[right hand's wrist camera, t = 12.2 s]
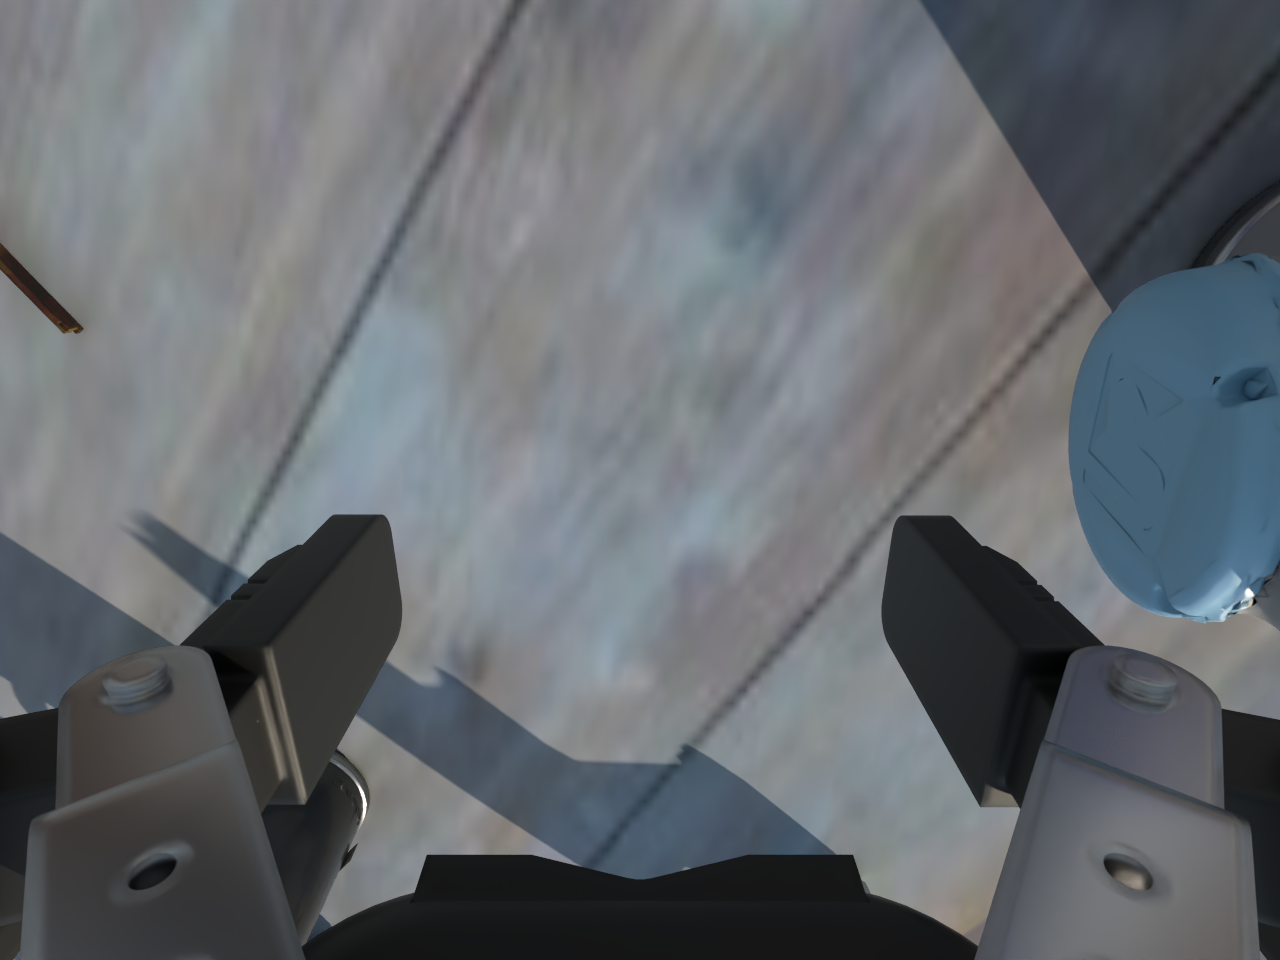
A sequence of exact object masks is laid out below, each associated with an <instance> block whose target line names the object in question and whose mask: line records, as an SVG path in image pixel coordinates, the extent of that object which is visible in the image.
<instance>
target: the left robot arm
mask: <svg viewBox="0 0 1280 960" xmlns="http://www.w3.org/2000/svg"><path fill="white" fill-rule="evenodd" d="M1069 465H1070V475H1071V479H1072V484H1073V495H1074V499H1075V504H1076V508H1077V512H1078V516H1079V519H1080V522H1081V525H1082V528H1083V531H1084V534H1085V536H1086V539H1087V541H1088V543H1089V546H1090V548H1091V550H1092V552H1093V554H1094V556H1095V558H1096V559H1097V561H1098V563H1099V564H1100V566H1101V568H1102V569H1103V571H1104V572H1105V573H1106V575H1107V576H1108V577H1109V579H1110V580H1111V581H1112V583H1113V584H1114V585H1115V586H1116V587H1117V588H1118V589H1119V590H1120V591H1121V592H1122V593H1123V594H1124V595H1125V596H1126V597H1127V598H1129V599H1130V600H1131V601H1133V602H1134V603H1136V604H1137V605H1139V606H1140V607H1142V608H1144V609H1146V610H1148V611H1150V612H1153V613H1155V614H1158V615H1162V616H1166V617H1185V618H1189V619H1191V620H1193V621H1198V622H1202V623H1205V624H1206V622H1207V621H1215V622H1223V621H1224V620H1225V619H1227V618H1229V617H1231V616H1233V615H1235V614H1240V613H1242V614H1248V615H1251V616H1255V617H1258V618H1260V619H1263V620H1265V621H1267V622H1268V623H1270V624H1271V625H1273V626H1274V627H1276V628H1277V629H1278V630H1279V631H1280V182H1278V183H1277V184H1275V185H1273V186H1272V187H1270V188H1269V189H1267V190H1266V191H1264V192H1263V193H1261V194H1259V195H1258V196H1257V197H1256V198H1254V199H1253V200H1252V201H1250V202H1249V203H1248V204H1246V205H1245V206H1244V207H1243V208H1242V209H1241V210H1240V211H1239V212H1237V213H1236V214H1235V215H1234V216H1233V217H1232V218H1231V219H1230V220H1229V221H1228V222H1227V223H1226V224H1225V225H1224V226H1223V227H1222V228H1221V229H1220V231H1219V232H1218V233H1217V234H1216V235H1215V236H1214V238H1213V239H1212V240H1211V241H1210V243H1209V244H1208V245H1207V247H1206V248H1205V249H1204V251H1203V252H1202V254H1201V255H1200V257H1199V258H1198V260H1197V261H1196V263H1195V265H1194V266H1193V268H1192V269H1188V270H1182V271H1177V272H1173V273H1169V274H1166V275H1162V276H1159V277H1157V278H1155V279H1153V280H1151V281H1148V282H1147V283H1145V284H1143V285H1141V286H1140V287H1138V288H1136V289H1135V290H1134V291H1132V292H1131V293H1130V294H1129V295H1127V296H1126V297H1125V298H1124V299H1123V300H1122V301H1121V302H1120V303H1119V305H1118V307H1117V309H1116V310H1115V311H1114V312H1112V313H1111V314H1110V315H1109V316H1108V317H1107V318H1106V319H1105V320H1104V321H1103V322H1102V324H1101V325H1100V327H1099V328H1098V330H1097V332H1096V333H1095V335H1094V337H1093V338H1092V340H1091V342H1090V345H1089V347H1088V349H1087V351H1086V353H1085V356H1084V358H1083V361H1082V363H1081V366H1080V370H1079V373H1078V376H1077V380H1076V384H1075V388H1074V393H1073V398H1072V405H1071V412H1070V422H1069Z"/></svg>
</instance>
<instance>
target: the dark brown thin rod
mask: <svg viewBox="0 0 1280 960" xmlns="http://www.w3.org/2000/svg"><path fill="white" fill-rule="evenodd" d="M0 270H1V271H2V272H3V273H4V274H5V275H6V276H7V277H8V278H9V279H10V280H11V281H12V282H13V283H14V284H15V285H16V286H17V287H18V288H19V289H20V290H21V291H22V292H23V293H24V294H25V295H26V296H27V297H28V298H29V299H30V300H31V301H32V302H33V303H34V304H35V305H36V306H37V307H38V308H39V309H40V310H41V311H42V312H43V313H44V314H45V315H46V316H47V317H48V318H49V319H50V320H51V321H52V322H53V323H54V324H55V325H56V326H57V327H58V328H59V329H60V330H61V331H62V333H69V332H71V331H74V332H75V333H76V334H78V333H80V332H81V331H82V330H83V328H82V326H81V325H80V324H78V323H77V321H76V320H75V319H74V318H73V317H72V316H71V315H70V314H69V313H68V312H67V311H66V310H65V309H64V308H63V307H62V306H61V305H60V304H59V303H58V302H57V301H56V300H55V299H54V298H53V297H52V296H51V295H50V294H49V293H48V292H47V291H46V290H45V289H44V288H43V287H42V286H41V285H40V284H39V283H38V282H37V281H36V280H35V279H34V278H33V277H32V276H31V275H30V274H29V273H28V272H27V270H26V269H25V268H24V267H23V266H22V265H21V264H20V263H19V262H18V261H17V260H16V259H15V258H14V257H13V256H12V255H11V254H10V253H9V252H8V251H7V250H6V249H5V248H4V246H3V245H2V244H0Z"/></svg>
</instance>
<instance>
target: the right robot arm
mask: <svg viewBox="0 0 1280 960" xmlns="http://www.w3.org/2000/svg"><path fill="white" fill-rule="evenodd" d="M401 621H402V601H401V593H400V587H399V580H398V573H397V566H396V559H395V553H394V546H393V539H392V532H391V527H390V524H389V522H388V520H387V518H386V517H385V516H384V515H332V516H331V517H330V518H329V519H328V520H327V521H326V522H325V523H324V524H323V525H322V526H321V527H320V528H319V529H318V530H317V531H316V532H315V533H314V534H313V535H312V536H311V537H310V538H309V539H308V540H307V541H306V542H305V543H304V544H303V545H297V546H295V547H293V548H291V549H289V550H287V551H285V552H283V553H282V554H280V555H278V556H276V557H274V558H272V559H270V560H268V561H267V562H266V563H265V564H264V565H263V566H262V567H261V568H260V569H259V570H258V571H257V572H255V573H254V574H253V575H252V576H251V577H250V578H249V579H248V584H243V585H242V586H241V587H240V588H239V589H238V590H237V591H236V592H235V593H234V594H233V595H231V600H226V601H225V602H224V603H223V604H222V605H221V606H220V607H219V608H218V609H217V610H216V611H215V612H214V613H213V614H212V615H211V616H210V617H209V618H207V619H206V620H205V621H204V622H203V623H202V624H201V625H200V626H199V627H198V628H197V629H196V630H195V631H194V632H193V633H192V634H191V635H190V636H189V637H188V638H187V639H186V640H184V641H183V642H182V643H181V644H180V645H179V646H164V647H157V648H152V649H147V650H143V651H139V652H135V653H132V654H129V655H126V656H123V657H121V658H118V659H116V660H114V661H111V662H109V663H107V664H105V665H103V666H101V667H99V668H97V669H95V670H94V671H92V672H90V673H89V674H87V675H86V676H84V677H83V678H81V679H80V680H79V681H77V682H76V683H75V684H74V685H73V686H72V687H71V688H70V689H69V690H68V691H67V692H66V693H65V695H64V696H63V698H62V700H61V701H60V704H59V708H55V709H50V710H44V711H39V712H34V713H29V714H23V715H18V716H13V717H8V718H3V719H0V960H13V959H14V957H15V956H16V955H17V954H18V952H19V951H20V960H1260V951H1261V952H1262V954H1263V955H1264V956H1265V957H1266V959H1267V960H1280V720H1277V719H1272V718H1267V717H1262V716H1256V715H1251V714H1246V713H1241V712H1236V711H1230V710H1225V709H1221V704H1220V701H1219V700H1218V698H1217V696H1216V695H1215V693H1214V692H1213V691H1212V690H1211V689H1210V688H1209V687H1208V686H1207V685H1206V684H1205V683H1204V682H1203V681H1201V680H1200V679H1199V678H1197V677H1196V676H1194V675H1193V674H1191V673H1190V672H1188V671H1186V670H1185V669H1183V668H1181V667H1179V666H1177V665H1175V664H1173V663H1171V662H1169V661H1166V660H1164V659H1162V658H1159V657H1157V656H1154V655H1151V654H1148V653H1145V652H1141V651H1137V650H1133V649H1128V648H1123V647H1116V646H1105V645H1104V644H1103V643H1102V642H1101V641H1100V640H1099V639H1098V638H1096V637H1095V636H1094V635H1093V634H1092V633H1091V632H1090V631H1089V630H1088V629H1087V628H1086V627H1085V626H1084V625H1083V624H1082V623H1081V622H1080V621H1079V620H1078V619H1076V618H1075V617H1074V616H1073V615H1072V614H1071V613H1070V612H1069V611H1068V610H1067V609H1066V608H1065V607H1064V606H1063V605H1062V604H1061V603H1060V602H1059V601H1054V597H1053V596H1052V595H1051V594H1050V593H1049V592H1048V591H1047V590H1046V589H1045V588H1044V587H1043V586H1042V585H1037V581H1036V580H1035V579H1034V578H1033V577H1032V576H1031V575H1030V574H1029V573H1028V572H1027V571H1026V570H1025V569H1024V568H1023V567H1022V566H1021V565H1020V564H1019V563H1017V562H1016V561H1014V560H1012V559H1010V558H1008V557H1006V556H1005V555H1003V554H1001V553H999V552H997V551H995V550H993V549H991V548H989V547H988V546H981V545H980V544H979V543H978V542H977V541H976V540H975V539H974V538H973V537H972V536H971V535H970V534H969V533H968V532H967V531H966V530H965V529H964V528H963V527H962V526H961V525H960V524H959V523H958V522H957V521H956V520H955V519H954V518H953V517H952V516H900V517H899V518H898V519H897V520H896V522H895V525H894V528H893V532H892V539H891V545H890V552H889V559H888V566H887V572H886V579H885V586H884V592H883V599H882V624H883V630H884V634H885V637H886V640H887V642H888V644H889V646H890V648H891V650H892V652H893V653H894V655H895V657H896V659H897V660H898V662H899V664H900V666H901V667H902V669H903V671H904V673H905V675H906V676H907V678H908V680H909V682H910V683H911V685H912V687H913V689H914V691H915V692H916V694H917V696H918V698H919V699H920V701H921V703H922V705H923V706H924V708H925V710H926V712H927V714H928V715H929V717H930V719H931V721H932V722H933V724H934V726H935V728H936V729H937V731H938V733H939V735H940V737H941V738H942V740H943V742H944V744H945V745H946V747H947V749H948V751H949V753H950V754H951V756H952V758H953V760H954V761H955V763H956V765H957V767H958V768H959V770H960V772H961V774H962V776H963V777H964V779H965V781H966V783H967V784H968V786H969V788H970V790H971V791H972V793H973V795H974V797H975V799H976V800H977V802H978V804H979V806H980V807H1019V808H1020V809H1021V810H1020V813H1019V816H1018V820H1017V823H1016V826H1015V829H1014V833H1013V836H1012V839H1011V842H1010V846H1009V849H1008V852H1007V855H1006V859H1005V862H1004V865H1003V868H1002V872H1001V875H1000V878H999V881H998V885H997V888H996V891H995V894H994V898H993V901H992V904H991V907H990V911H989V914H988V917H987V920H986V924H985V927H984V930H983V933H982V937H981V940H980V943H979V946H977V945H975V944H974V943H973V942H971V941H970V940H968V939H967V938H965V937H964V936H963V935H961V934H960V933H958V932H956V931H954V930H953V929H951V928H949V927H947V926H946V925H944V924H942V923H940V922H939V921H937V920H935V919H934V918H932V917H929V916H927V915H925V914H923V913H921V912H919V911H916V910H914V909H912V908H910V907H908V906H905V905H903V904H900V903H897V902H894V901H891V900H888V899H886V898H883V897H880V896H876V895H872V894H868V893H865V890H864V887H863V884H862V881H861V878H860V875H859V872H858V869H857V866H856V863H855V859H854V856H853V855H746V856H742V857H737V858H733V859H729V860H725V861H721V862H717V863H713V864H709V865H705V866H700V867H696V868H692V869H688V870H684V871H680V872H676V873H672V874H668V875H663V876H659V877H655V878H651V879H644V880H636V879H629V878H625V877H621V876H617V875H612V874H608V873H604V872H600V871H596V870H592V869H588V868H584V867H580V866H575V865H571V864H567V863H563V862H559V861H555V860H551V859H547V858H543V857H538V856H534V855H427V856H426V859H425V863H424V866H423V869H422V872H421V875H420V878H419V881H418V884H417V887H416V890H415V893H412V894H408V895H404V896H400V897H397V898H394V899H392V900H389V901H386V902H383V903H380V904H377V905H375V906H372V907H370V908H368V909H366V910H364V911H361V912H359V913H357V914H355V915H353V916H351V917H348V918H346V919H345V920H343V921H341V922H340V923H338V924H336V925H334V926H333V927H331V928H329V929H327V930H326V931H324V932H322V933H320V934H319V935H317V936H316V937H315V938H313V939H312V940H310V941H309V942H307V941H308V938H309V936H310V934H311V932H312V930H313V927H314V925H315V923H316V921H317V919H318V916H319V914H320V912H321V910H322V907H323V905H324V903H325V901H326V899H327V896H328V894H329V892H330V890H331V888H332V885H333V883H334V881H335V879H336V876H337V874H338V872H339V871H340V870H341V869H342V868H343V867H344V866H345V865H346V864H347V863H348V862H349V861H350V860H351V858H352V856H353V853H354V851H355V849H356V846H357V844H358V843H357V844H356V845H355V846H354V847H353V848H352V849H351V850H350V851H349V852H348V850H349V848H350V845H351V843H352V841H353V839H354V836H355V834H356V832H357V830H358V829H359V828H360V826H361V824H362V822H363V820H364V818H365V816H366V813H367V811H368V808H369V803H370V796H369V790H368V786H367V784H366V782H365V779H364V778H363V776H362V774H361V773H360V772H359V770H358V769H357V768H356V767H355V766H354V765H353V764H352V763H351V762H350V761H348V760H347V759H346V758H344V757H343V756H341V755H340V754H338V753H336V752H335V750H336V748H337V747H338V745H339V743H340V741H341V740H342V738H343V736H344V734H345V732H346V731H347V729H348V727H349V725H350V723H351V722H352V720H353V718H354V716H355V714H356V713H357V711H358V709H359V707H360V705H361V704H362V702H363V700H364V698H365V696H366V695H367V693H368V691H369V689H370V688H371V686H372V684H373V682H374V680H375V679H376V677H377V675H378V673H379V671H380V670H381V668H382V666H383V664H384V662H385V661H386V659H387V657H388V655H389V653H390V652H391V650H392V648H393V646H394V644H395V643H396V641H397V638H398V635H399V632H400V627H401ZM347 852H348V853H347Z"/></svg>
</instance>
